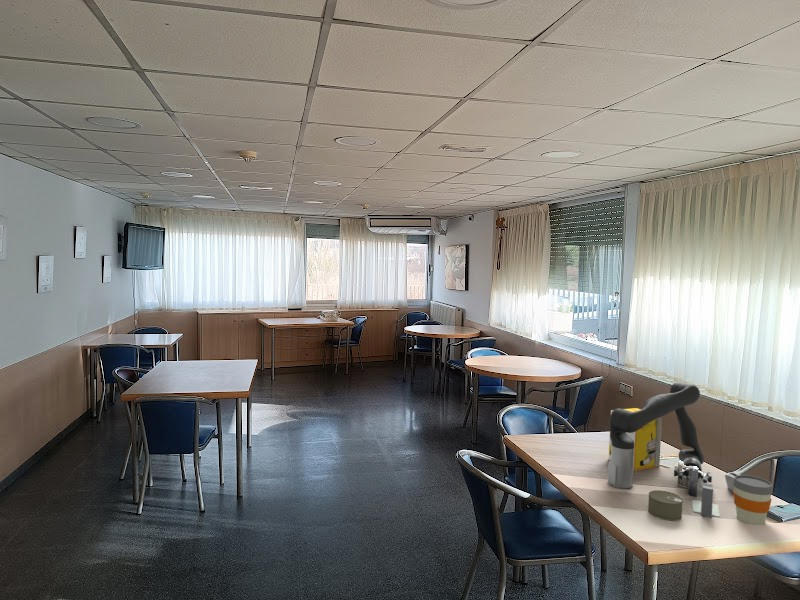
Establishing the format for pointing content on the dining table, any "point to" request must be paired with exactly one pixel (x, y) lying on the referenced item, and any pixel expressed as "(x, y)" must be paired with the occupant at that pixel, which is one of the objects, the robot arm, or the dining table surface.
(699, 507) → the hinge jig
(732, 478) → the hinge
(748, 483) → the reusable coffee cup
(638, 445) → the packaging box
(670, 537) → the dining table surface
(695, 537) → the dining table surface
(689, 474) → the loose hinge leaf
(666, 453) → the dining table surface
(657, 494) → the can
